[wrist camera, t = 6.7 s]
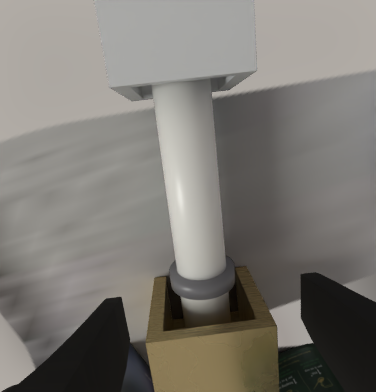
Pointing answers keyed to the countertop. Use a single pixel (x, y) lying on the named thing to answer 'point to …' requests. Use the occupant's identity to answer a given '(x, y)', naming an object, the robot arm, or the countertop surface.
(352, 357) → the robot arm
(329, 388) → the coffee jar
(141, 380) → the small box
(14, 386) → the supplement bottle
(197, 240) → the tube
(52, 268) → the countertop surface
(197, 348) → the socket
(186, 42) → the light grey block
